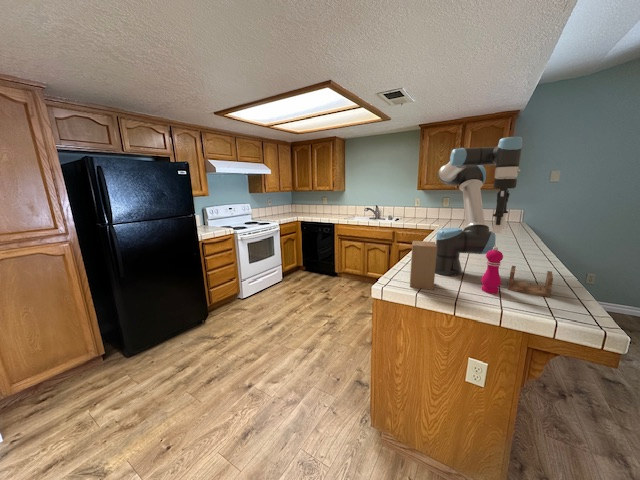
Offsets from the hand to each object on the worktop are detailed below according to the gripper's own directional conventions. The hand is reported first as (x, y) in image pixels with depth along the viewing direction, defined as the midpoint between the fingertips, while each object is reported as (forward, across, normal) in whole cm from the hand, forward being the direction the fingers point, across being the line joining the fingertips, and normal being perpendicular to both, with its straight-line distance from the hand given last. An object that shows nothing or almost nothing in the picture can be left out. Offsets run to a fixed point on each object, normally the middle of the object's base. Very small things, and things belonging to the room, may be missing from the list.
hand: (498, 230), depth 107 cm
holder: (+27, +12, -13) cm, 32 cm away
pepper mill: (+27, 0, 0) cm, 27 cm away
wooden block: (+27, -11, +26) cm, 39 cm away
